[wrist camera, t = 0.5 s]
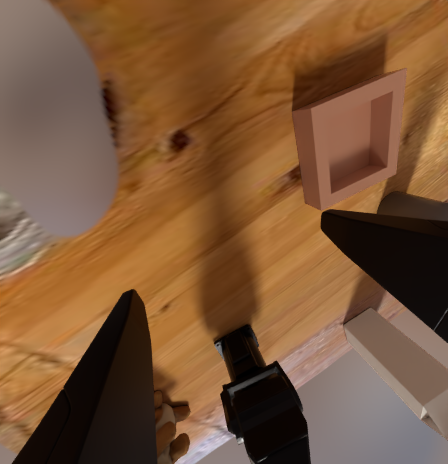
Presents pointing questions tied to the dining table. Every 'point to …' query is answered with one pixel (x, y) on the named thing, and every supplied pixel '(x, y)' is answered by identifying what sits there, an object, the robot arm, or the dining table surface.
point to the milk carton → (403, 367)
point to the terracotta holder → (350, 139)
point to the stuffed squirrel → (169, 431)
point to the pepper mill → (413, 207)
